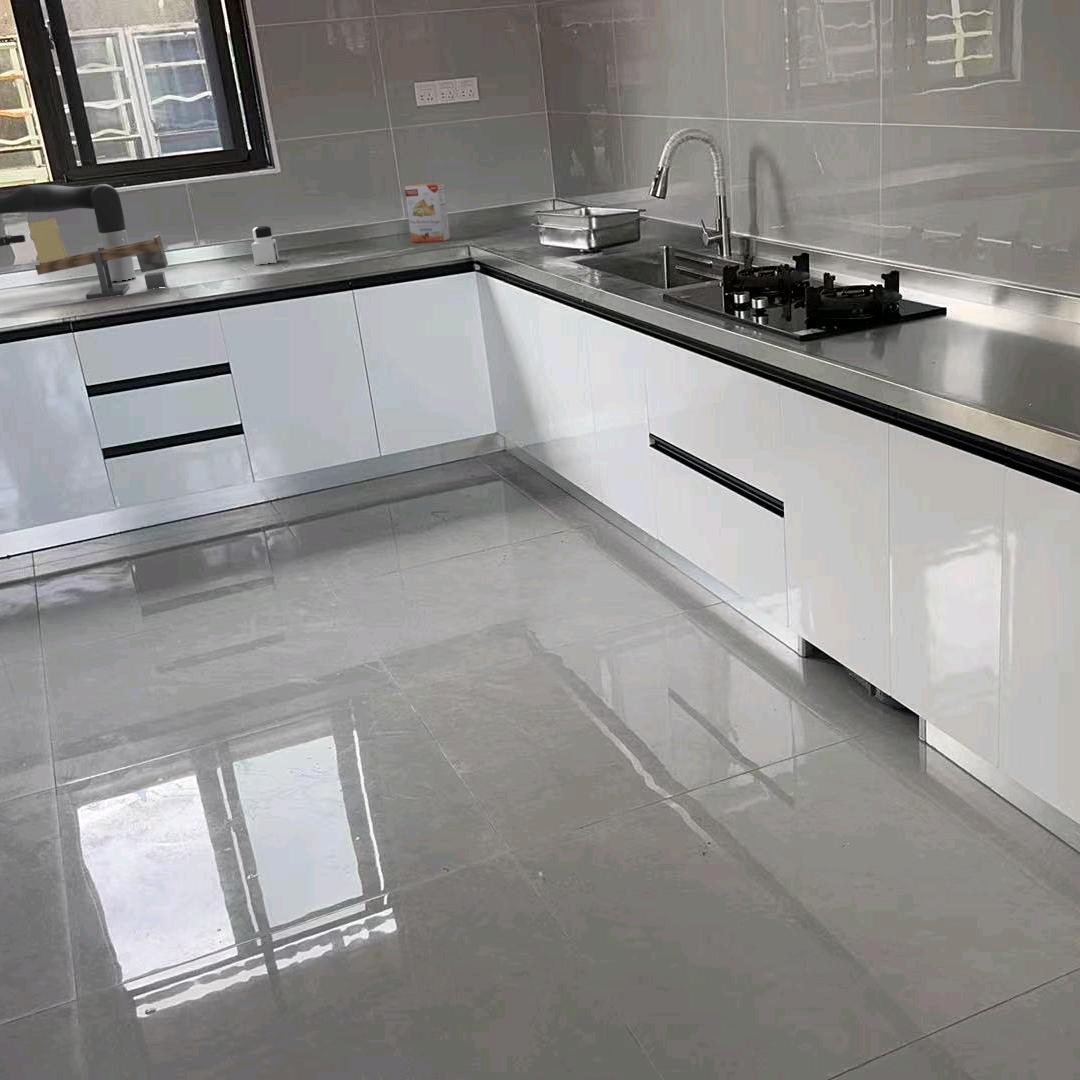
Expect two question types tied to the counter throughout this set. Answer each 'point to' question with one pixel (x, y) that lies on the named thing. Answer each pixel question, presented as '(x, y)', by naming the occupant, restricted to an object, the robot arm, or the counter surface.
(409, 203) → the cracker box
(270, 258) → the container
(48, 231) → the rider
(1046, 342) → the counter surface
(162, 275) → the pivot stand
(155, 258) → the beam
